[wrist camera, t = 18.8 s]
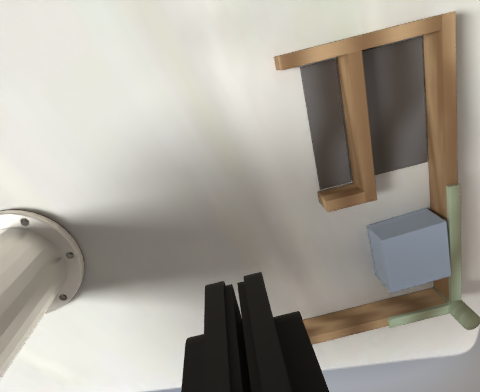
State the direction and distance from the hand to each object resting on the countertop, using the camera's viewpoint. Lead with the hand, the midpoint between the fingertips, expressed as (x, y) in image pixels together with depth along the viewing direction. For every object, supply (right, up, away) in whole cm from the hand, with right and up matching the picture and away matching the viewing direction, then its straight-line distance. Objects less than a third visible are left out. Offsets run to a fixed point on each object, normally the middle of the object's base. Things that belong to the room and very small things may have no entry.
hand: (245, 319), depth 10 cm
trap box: (+10, +3, +29) cm, 30 cm away
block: (+19, -2, +31) cm, 37 cm away
